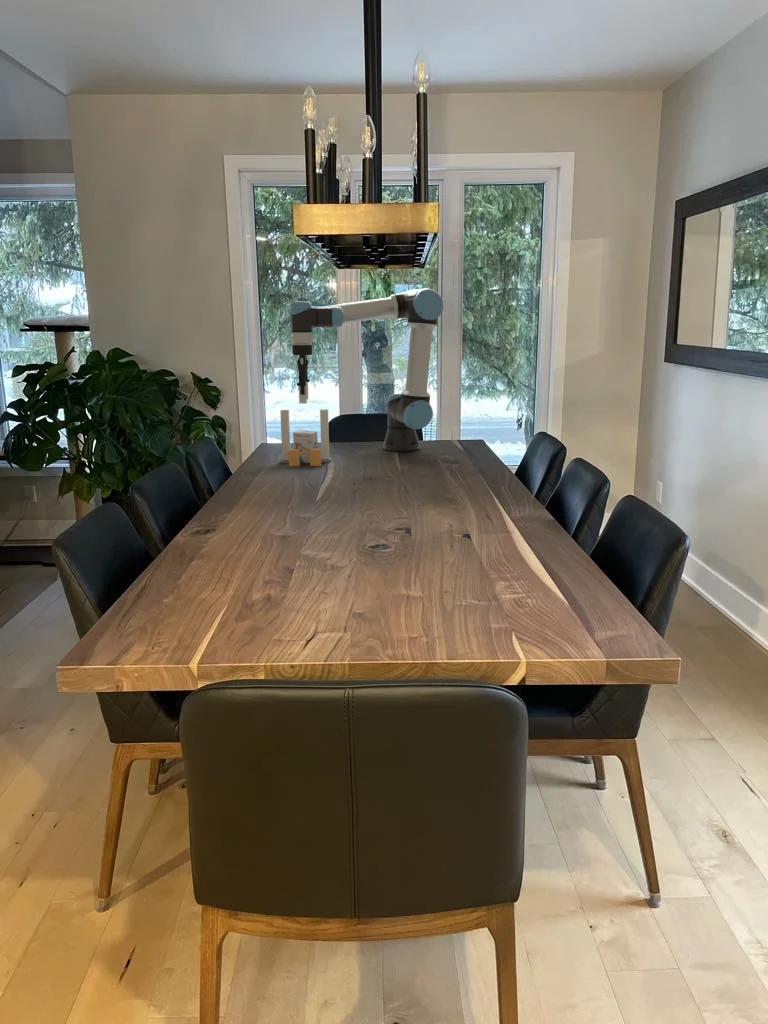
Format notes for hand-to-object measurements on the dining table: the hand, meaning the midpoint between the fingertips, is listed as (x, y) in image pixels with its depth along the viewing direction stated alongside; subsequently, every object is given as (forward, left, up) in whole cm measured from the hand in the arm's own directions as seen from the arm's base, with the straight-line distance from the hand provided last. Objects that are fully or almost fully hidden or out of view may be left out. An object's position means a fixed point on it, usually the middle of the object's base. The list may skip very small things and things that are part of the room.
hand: (303, 401), depth 290 cm
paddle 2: (-4, +7, -23) cm, 25 cm away
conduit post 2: (-8, 0, -23) cm, 24 cm away
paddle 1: (+4, +7, -23) cm, 25 cm away
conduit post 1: (+7, 0, -23) cm, 24 cm away
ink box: (0, 0, -23) cm, 23 cm away
